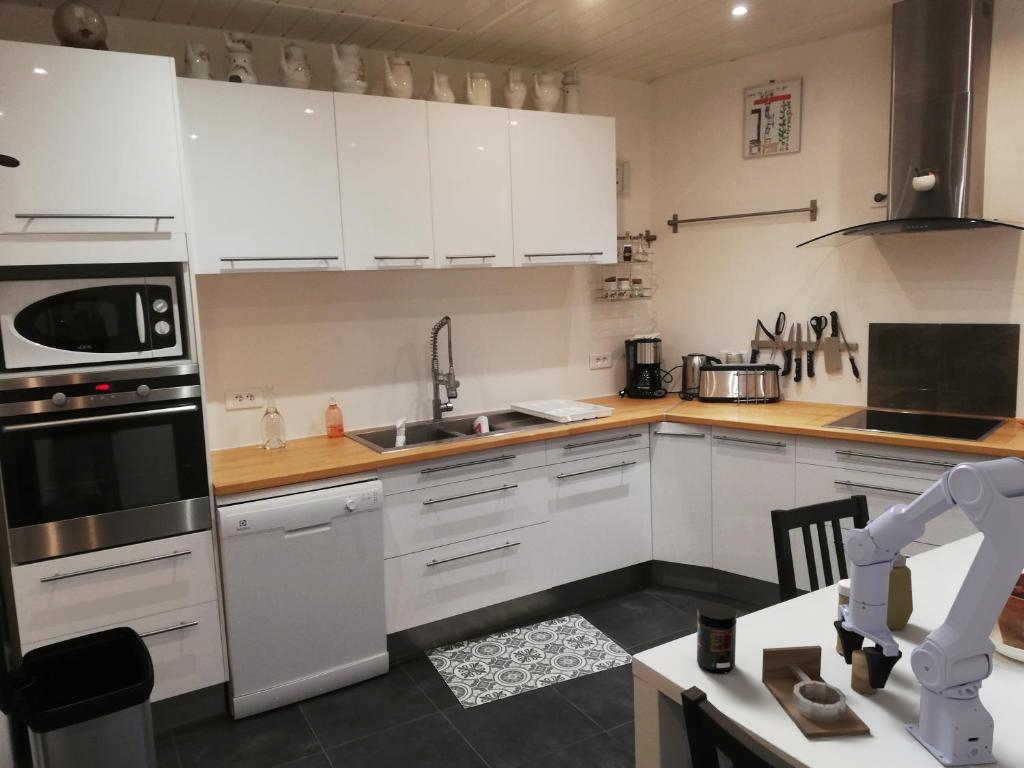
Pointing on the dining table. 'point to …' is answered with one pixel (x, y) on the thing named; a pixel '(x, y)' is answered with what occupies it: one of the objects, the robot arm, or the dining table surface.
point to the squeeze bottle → (899, 595)
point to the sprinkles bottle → (843, 600)
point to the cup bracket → (808, 693)
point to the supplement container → (716, 637)
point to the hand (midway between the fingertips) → (864, 675)
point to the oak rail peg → (860, 674)
